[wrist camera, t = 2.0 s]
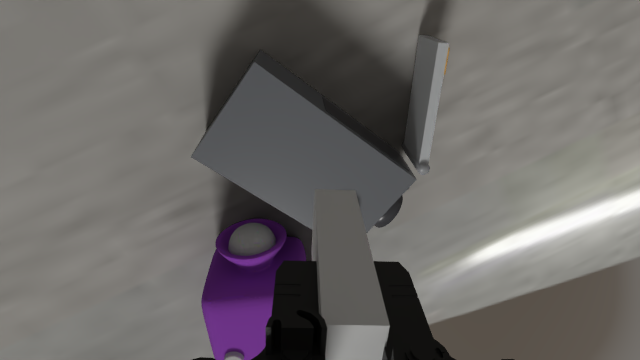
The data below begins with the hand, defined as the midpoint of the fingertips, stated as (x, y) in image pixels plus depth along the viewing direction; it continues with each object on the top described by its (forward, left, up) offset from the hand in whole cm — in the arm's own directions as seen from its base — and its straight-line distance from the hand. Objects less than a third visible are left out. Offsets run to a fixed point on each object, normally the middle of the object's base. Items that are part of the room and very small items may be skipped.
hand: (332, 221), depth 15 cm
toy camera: (+7, -18, -23) cm, 30 cm away
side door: (+8, +5, -22) cm, 24 cm away
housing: (+3, -5, -23) cm, 23 cm away
